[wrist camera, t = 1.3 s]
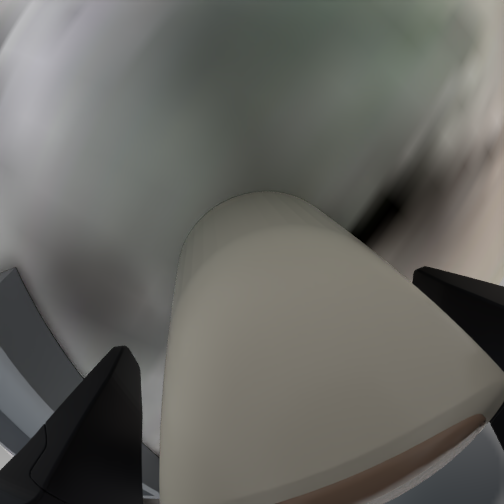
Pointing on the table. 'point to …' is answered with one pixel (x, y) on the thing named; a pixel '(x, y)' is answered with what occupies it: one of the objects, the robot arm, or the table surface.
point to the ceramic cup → (308, 366)
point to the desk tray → (38, 375)
